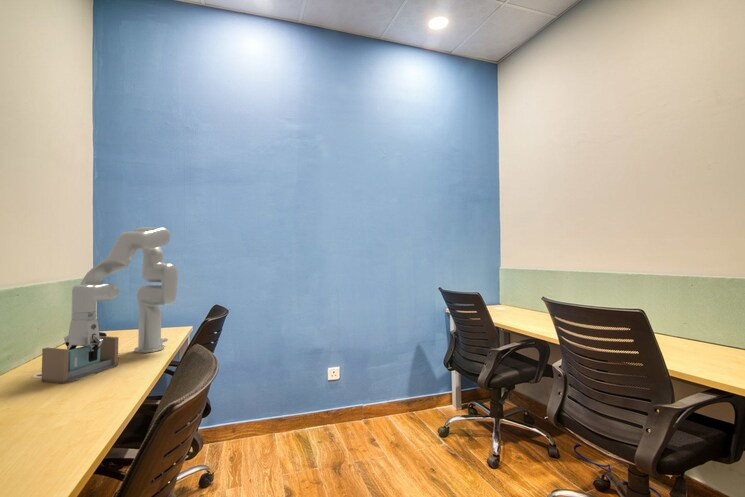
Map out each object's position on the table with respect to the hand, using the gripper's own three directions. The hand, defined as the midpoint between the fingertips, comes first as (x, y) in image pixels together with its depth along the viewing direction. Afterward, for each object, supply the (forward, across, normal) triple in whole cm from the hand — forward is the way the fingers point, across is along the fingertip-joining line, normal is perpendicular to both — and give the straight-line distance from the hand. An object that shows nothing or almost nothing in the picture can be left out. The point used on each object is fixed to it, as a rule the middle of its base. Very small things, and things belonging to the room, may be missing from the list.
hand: (82, 359), depth 143 cm
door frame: (+5, 0, 0) cm, 5 cm away
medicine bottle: (+5, +11, -16) cm, 20 cm away
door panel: (+4, 0, 0) cm, 4 cm away
